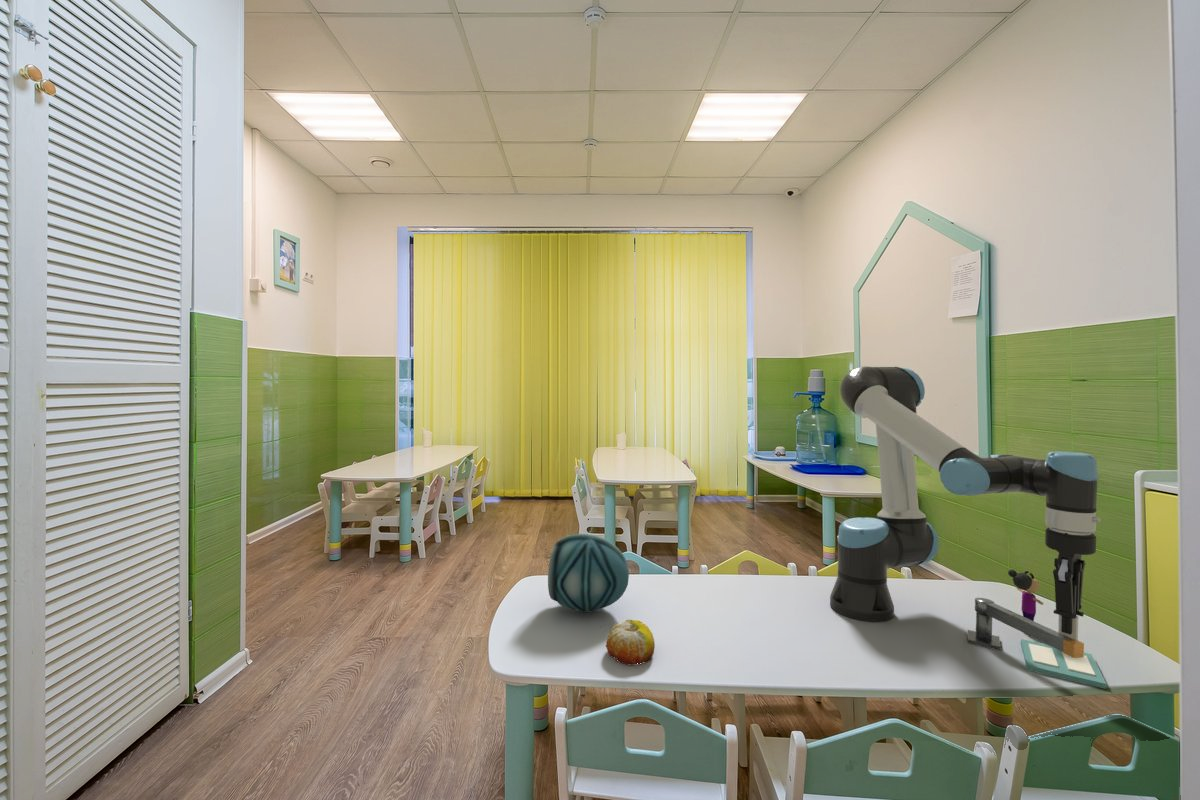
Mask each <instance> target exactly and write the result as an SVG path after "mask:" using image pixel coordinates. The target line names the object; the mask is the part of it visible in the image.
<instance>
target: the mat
mask: <svg viewBox="0 0 1200 800" xmlns="http://www.w3.org/2000/svg"><path fill="white" fill-rule="evenodd" d="M1020 646H1021V649H1022V650H1021V651H1022V655H1023V658H1024V659H1023V660H1024V661H1025V662H1024V663H1025V666H1026V670H1027V671H1030V672H1035V673H1039V674H1042V675H1047V676H1051V677H1056V678H1058V679H1063V680H1068V681H1070V682H1071V681H1072V682H1075V683H1081V684H1085V685H1088V686H1093V687H1096V688H1101V689H1104V690H1106V689H1107V682H1106V681H1105V678H1104V676H1103V674H1102V672H1101V671H1100V668H1099V667H1098V665H1097V662H1096V660H1095V658H1094V656H1093V655H1092V653H1087V652H1084V657H1081V658H1073V657H1071V656H1069V655H1066V654H1064V653H1063V652H1062V651H1060V650H1058V649H1056V648H1054V647H1052V646H1050V645H1048V644H1045V643H1043V642H1039V641H1038V642H1037V641H1032V640H1028V639H1024V638H1020Z"/></svg>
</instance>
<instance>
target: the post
mask: <svg viewBox="0 0 1200 800" xmlns="http://www.w3.org/2000/svg"><path fill="white" fill-rule="evenodd" d="M975 617H976V618H975V631H974V630H970V629H967V643H968V644H971V645H975V646H979V647H983V648H987V649H993V650H997V651H1002V647H1001V646H1002V645H1001V640H1000V636H999V635H993V618H992V617H990V616H988V615H986V614H981V613H979V612H977V611H975Z"/></svg>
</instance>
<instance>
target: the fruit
mask: <svg viewBox="0 0 1200 800" xmlns="http://www.w3.org/2000/svg"><path fill="white" fill-rule="evenodd" d="M605 643H606V644H605V647H606V650H607V653H608V654H609V656H610V657H611V656H612V657H615V658H614V659H615V660H616V661H617V660H618V661H620V662H619V663H622V662H623V664H624V663H625V665H627V664H637V663H638V664H640V663H642V664H644V663H643V662H645V663H647V662H649V661H650V660H651V659H652V657H653V656H654V653H655V649H656V646H655V645H656V644H655V639H654V635H653V632H652V631H651V629H650V628H649V626H648V625H646V624H645V623H643V621H641V620H638V619H626V620H625V621H623V622H621V623H617V624H615V625H613V626H612V628H611V629H610V631H609V634H608V636H607V638H606V642H605ZM612 657H611V658H612ZM618 661H617V662H618ZM640 665H641V664H640Z"/></svg>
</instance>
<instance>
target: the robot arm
mask: <svg viewBox="0 0 1200 800" xmlns="http://www.w3.org/2000/svg"><path fill="white" fill-rule="evenodd" d="M839 387H840V388H839V392H840V397H841V400H842V402H843V403H844V405H845V406H846V407H847V408H848V409H849V410H850V411H851V412H852V413H854V414H855V415H856V416H858V417H860V418H862V419H868V420H870V422H872V423H874V424H875V430H876V431H875V433H876V443H877V456H878V467H879V469H878V470H879V479H880V480H879V481H880V490H881V503H882V507H881V509H880V511H878V512H877V514H876V517H867V516H866V517H852V518H851V517H850V518H849V519H846V520H844V521H842V522H841V523H840V524H839V526H838V535H837V538H836V539H837V577H836V579H835V582H834V586H833V587H832V590H831V593H830V595H829V598H830V599H829V606H830V607H831V608H832V609H833V611H835V612H837V613H839V614H841V615H842V616H845V617H848V618H851V619H854V620H859V621H865V622H866V621H867V622H886V621H890V620H892V619H893V618H894V617H895V604H894V602H893V598H892V596H891V593H890V591H889V590H890V589H889V587H888V584H887V583H888V569H894V568H896V569H897V568H903V567H917V566H920V565H924V564H927V563H929V562H930V561H932V560H933V559H934V558H935V557H936V555H937V553H938V550H939V545H940V542H939V536H938V533H937V531H936V530H935V529H934V527H933V526H932V525H931V524H930V523H928V521H927V516H926V514H925V513H923V512H922V510H920V508H919V507H920V506H919V498H918V497H919V496H918V488H917V487H918V486H917V485H918V484H917V475H916V474H917V473H916V463H915V456H917V457H918V458H920V460H922V461H924V463H926V464H928V465H929V466H930V467H932V469H934V470H936V471H937V472H938V473H939V480H940V482H941V483H942V485H943V487H944V489H946V490H947V491H948V492H949V493H951V494H954V495H958V496H979V495H980V496H981V495H988V494H1003V493H1004V494H1007V493H1024V494H1031V495H1037V496H1041V497H1045V519H1044V520H1045V521H1044V522H1045V523H1044V524H1045V525H1046V527H1047V528H1045V535H1044V537H1045V539H1044V540H1045V541H1044V542H1045V543H1044V544H1045V546H1046V547H1047V548H1049V549H1050V550H1053V551H1056V552H1058V556H1057V557H1055V558H1054V560H1053V561H1054V562H1053V563H1054V568H1055V569H1053V570H1052V574H1053V579H1054V594H1055V596H1054V597H1055V609H1054V610H1053V614H1055V615H1058V631H1057V632H1058V633H1061V634H1063V635H1065V636H1067V637H1069V638H1072V639H1075V640H1078V641H1079V617H1082V618H1083V617H1084V615H1085V613H1084V611H1083V612H1082V611H1081V610H1082V607H1083V606H1082V599H1083V598H1082V597H1083V582H1084V573H1085V572H1084V571H1085V568H1086V560H1083V559H1082V556H1090V555H1091V556H1092V555H1094V554H1095V553H1096V552H1097V535H1095V534H1094V533H1095V532H1097V523H1101V520H1102V519H1101V518H1100V517H1098V516H1096V515H1097V500H1098V499H1097V496H1098V480H1100V479H1099V475H1098V461H1097V458H1096V457H1095V456H1094V455H1092V454H1090V453H1085V452H1078V451H1077V452H1071V451H1050V452H1048V453H1047V454H1046V458H1045V459H1038V458H1032V457H1023V456H1017V455H1013V454H997V453H996V454H991V455H990V456H988V457H980V456H978V455H977V454H975V453H974V452H973V451H971V450H970V449H968V448H967V447H965V446H964V445H962V444H961V443H959V442H958V441H956V440H955V439H953V438H952V437H950V436H949V435H948V434H946V433H945V432H943V431H942V430H940V429H938V428H937V426H935V425H933V424H932V423H930V422H929V421H927V420H926V419H925V418H923V417H921V415H918V412H917V407H918V406H920V405H921V403H922V400H924V398H925V393H926V392H925V391H926V390H925V385H924V382H923V380H922V378H921V377H920V375H918V373H916V372H915V371H914V370H911V369H909V368H906V367H900V366H860V367H856V368H854V369H852V370H850V371H849V372H847V374H846V375H844V377H843V379H842V380H841V382H840V386H839Z"/></svg>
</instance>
